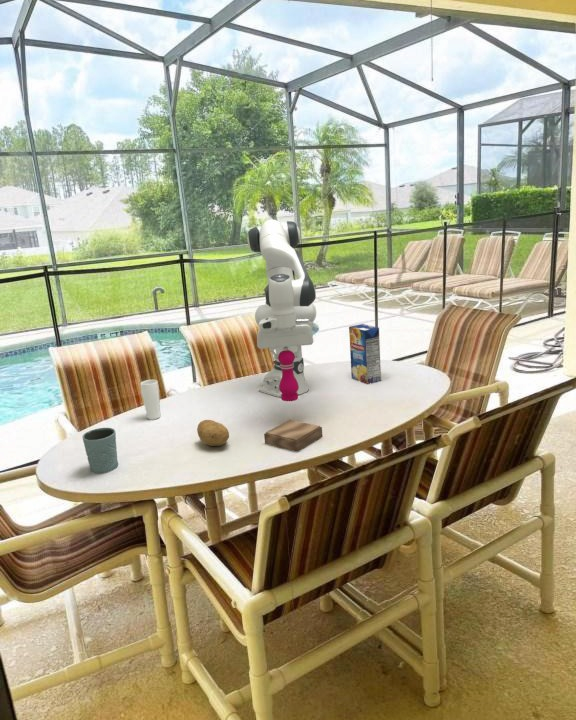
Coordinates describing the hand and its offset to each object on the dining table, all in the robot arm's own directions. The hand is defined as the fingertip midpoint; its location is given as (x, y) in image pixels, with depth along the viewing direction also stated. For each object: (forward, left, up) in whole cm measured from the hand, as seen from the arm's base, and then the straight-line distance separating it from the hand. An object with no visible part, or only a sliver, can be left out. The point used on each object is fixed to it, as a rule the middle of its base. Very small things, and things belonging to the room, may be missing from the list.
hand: (286, 358), depth 202 cm
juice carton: (-1, +55, -24) cm, 60 cm away
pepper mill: (0, 0, -16) cm, 16 cm away
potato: (-10, -30, -24) cm, 40 cm away
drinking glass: (-52, -23, -24) cm, 62 cm away
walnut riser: (+12, -14, -24) cm, 30 cm away
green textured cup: (-29, -61, -24) cm, 72 cm away
